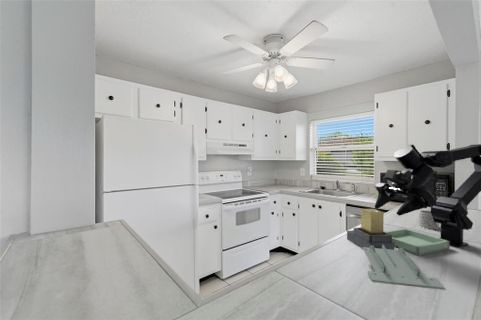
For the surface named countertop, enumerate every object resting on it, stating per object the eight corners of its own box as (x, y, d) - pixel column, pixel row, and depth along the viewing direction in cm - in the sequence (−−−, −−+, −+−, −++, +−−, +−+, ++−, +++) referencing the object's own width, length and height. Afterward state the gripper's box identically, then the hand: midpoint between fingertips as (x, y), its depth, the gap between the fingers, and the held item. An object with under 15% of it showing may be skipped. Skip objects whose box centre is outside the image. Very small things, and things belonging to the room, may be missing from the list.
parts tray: (404, 234, 82) (405, 228, 82) (449, 248, 70) (449, 241, 70) (376, 239, 77) (376, 232, 77) (418, 255, 64) (418, 247, 64)
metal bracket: (354, 239, 62) (412, 243, 59) (352, 255, 64) (408, 261, 61) (374, 278, 49) (451, 287, 46) (371, 298, 50) (445, 307, 47)
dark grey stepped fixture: (368, 238, 78) (368, 224, 78) (394, 251, 67) (394, 235, 67) (346, 238, 77) (347, 225, 77) (370, 252, 66) (370, 236, 66)
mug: (441, 230, 88) (441, 214, 88) (420, 228, 92) (420, 212, 92) (435, 224, 96) (435, 210, 96) (416, 222, 100) (416, 208, 100)
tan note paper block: (372, 234, 73) (373, 208, 73) (383, 239, 69) (383, 211, 69) (360, 235, 73) (361, 209, 73) (370, 240, 68) (371, 212, 68)
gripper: (379, 161, 82) (352, 190, 80) (428, 162, 63) (394, 199, 62) (397, 182, 83) (371, 210, 81) (451, 188, 64) (418, 225, 63)
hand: (386, 211), depth 72 cm, fingers open, 9 cm apart
